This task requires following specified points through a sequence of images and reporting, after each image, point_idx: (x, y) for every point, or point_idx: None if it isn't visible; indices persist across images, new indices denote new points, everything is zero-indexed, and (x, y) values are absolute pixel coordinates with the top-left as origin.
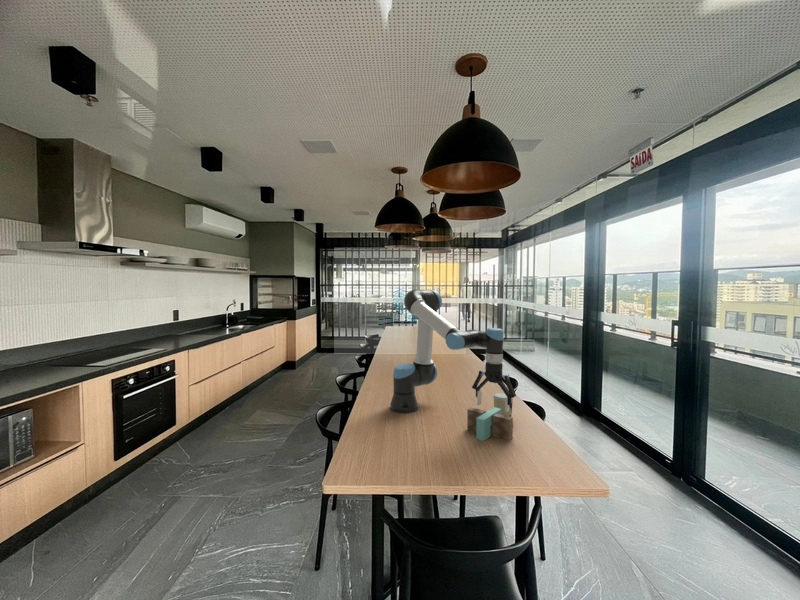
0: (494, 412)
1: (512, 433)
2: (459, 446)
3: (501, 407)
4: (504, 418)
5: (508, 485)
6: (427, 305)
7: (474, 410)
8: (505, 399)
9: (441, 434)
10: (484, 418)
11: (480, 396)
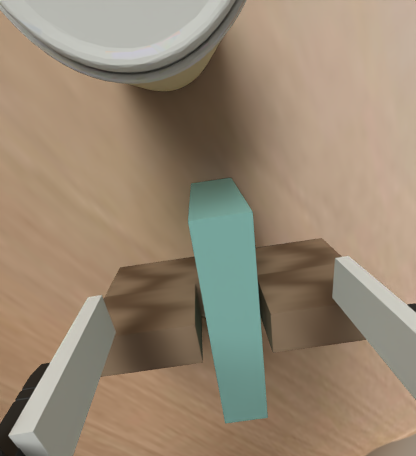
0: (252, 309)
1: (332, 248)
2: (212, 400)
3: (178, 80)
4: (347, 341)
5: (395, 436)
6: None
7: (140, 363)
8: (411, 394)
9: (111, 386)
10: (258, 404)
11: (79, 370)
